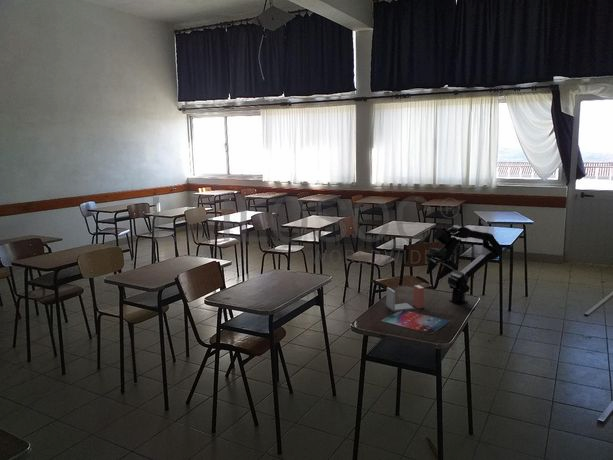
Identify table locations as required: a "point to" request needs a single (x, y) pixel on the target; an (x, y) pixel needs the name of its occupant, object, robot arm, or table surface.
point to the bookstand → (391, 302)
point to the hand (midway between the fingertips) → (432, 276)
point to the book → (418, 296)
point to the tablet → (416, 321)
